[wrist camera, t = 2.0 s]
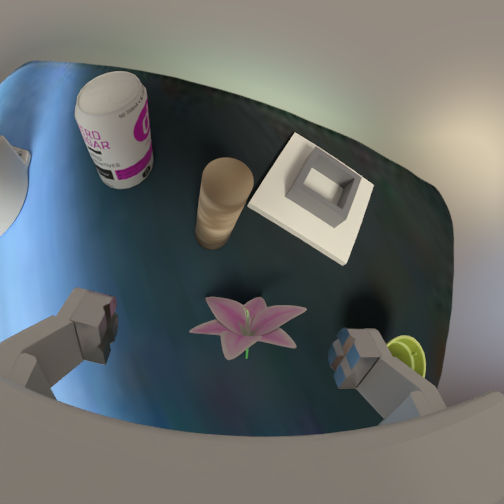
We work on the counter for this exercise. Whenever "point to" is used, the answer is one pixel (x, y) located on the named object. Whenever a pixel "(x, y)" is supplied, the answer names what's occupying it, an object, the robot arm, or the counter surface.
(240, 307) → the lily
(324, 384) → the counter surface
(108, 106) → the supplement can
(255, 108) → the counter surface
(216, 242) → the beech peg
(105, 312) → the robot arm
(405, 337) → the plant pot
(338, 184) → the docking plate
